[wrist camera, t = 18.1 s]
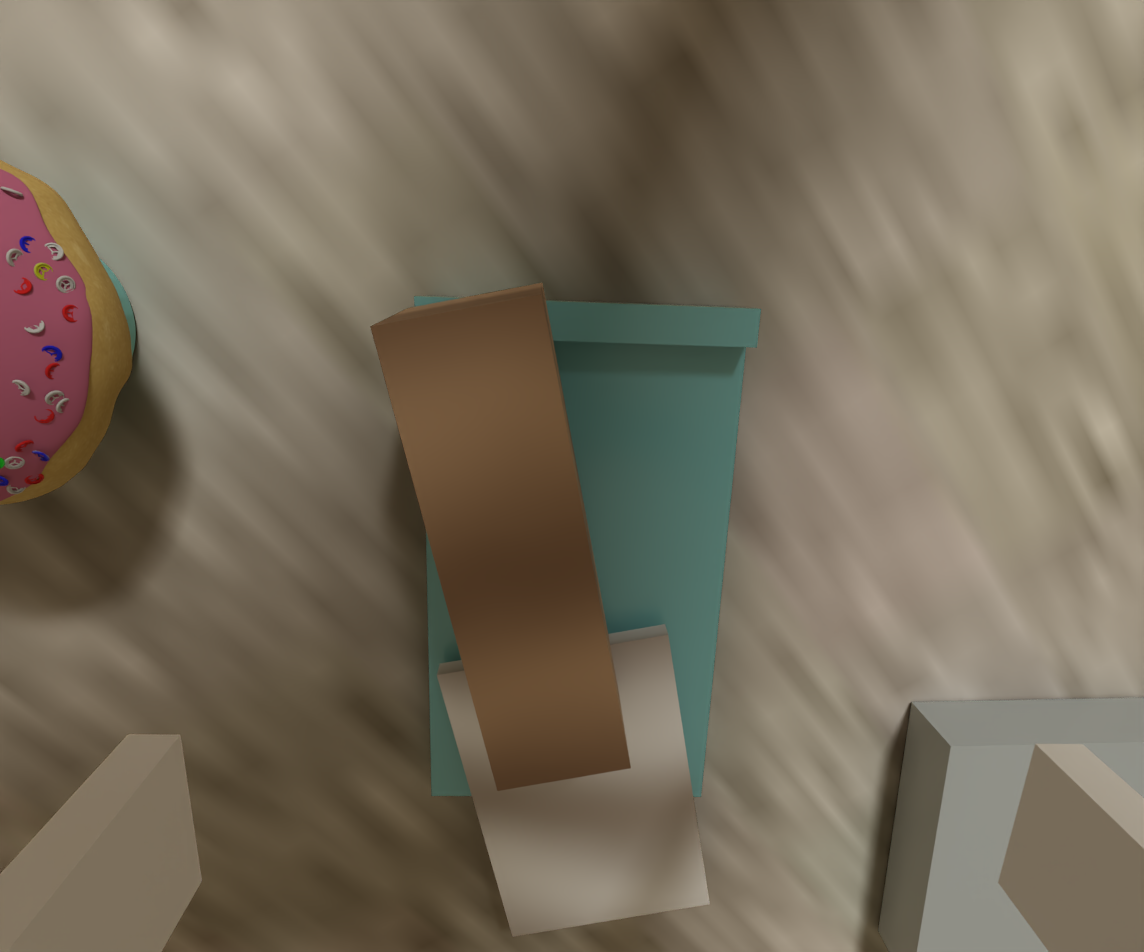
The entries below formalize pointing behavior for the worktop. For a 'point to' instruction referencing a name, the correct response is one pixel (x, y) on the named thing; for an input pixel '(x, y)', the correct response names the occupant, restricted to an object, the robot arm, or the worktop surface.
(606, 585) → the rest
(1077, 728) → the tile
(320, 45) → the worktop surface
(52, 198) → the cupcake
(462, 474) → the turner
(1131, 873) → the robot arm
